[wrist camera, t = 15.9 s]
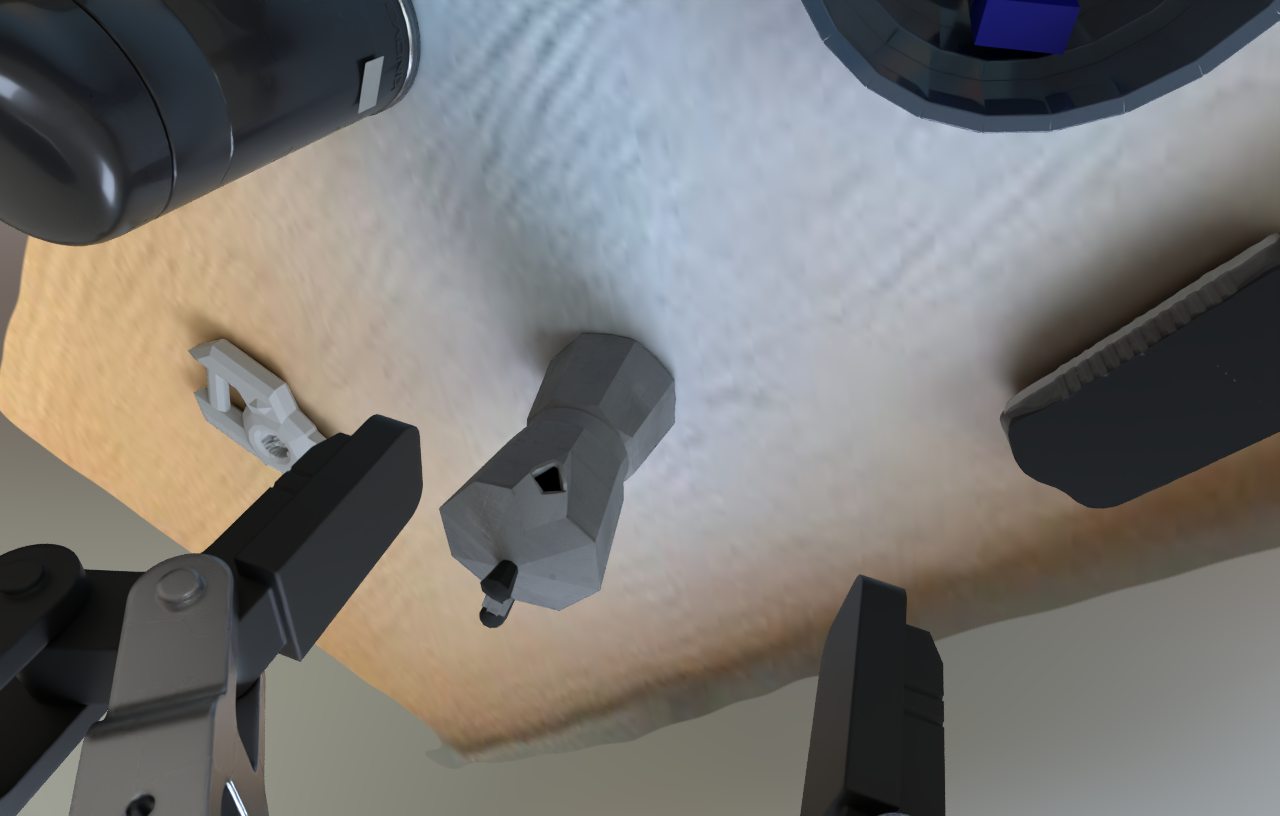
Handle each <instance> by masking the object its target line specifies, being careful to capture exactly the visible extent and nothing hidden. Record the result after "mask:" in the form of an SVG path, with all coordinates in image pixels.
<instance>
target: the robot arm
mask: <svg viewBox="0 0 1280 816" xmlns="http://www.w3.org/2000/svg"><path fill="white" fill-rule="evenodd" d="M419 60H420V34H419V28H418V22H417V18H416V14H415V11H414V8H413V5H412V2H411V0H0V220H1V221H2V222H4V223H6V224H8V225H9V226H11V227H14V228H15V229H17V230H19V231H21V232H23V233H25V234H27V235H30V236H32V237H35V238H38V239H41V240H44V241H47V242H50V243H55V244H59V245H67V246H88V245H94V244H100V243H104V242H106V241H109V240H112V239H114V238H117V237H120V236H122V235H124V234H126V233H128V232H130V231H132V230H134V229H136V228H138V227H140V226H142V225H145V224H147V223H148V222H150V221H152V220H154V219H157V218H159V217H161V216H163V215H165V214H167V213H169V212H171V211H173V210H175V209H177V208H179V207H181V206H183V205H186V204H188V203H190V202H192V201H194V200H196V199H198V198H200V197H202V196H204V195H206V194H208V193H210V192H212V191H214V190H216V189H218V188H220V187H222V186H224V185H226V184H228V183H230V182H232V181H234V180H236V179H238V178H241V177H243V176H245V175H247V174H249V173H251V172H253V171H255V170H257V169H259V168H261V167H263V166H265V165H267V164H270V163H272V162H274V161H276V160H278V159H280V158H282V157H284V156H286V155H288V154H290V153H292V152H294V151H296V150H299V149H301V148H303V147H305V146H307V145H309V144H311V143H313V142H315V141H317V140H319V139H321V138H323V137H325V136H327V135H330V134H332V133H334V132H336V131H338V130H340V129H342V128H344V127H347V126H349V125H351V124H353V123H355V122H357V121H359V120H361V119H363V118H365V117H367V116H371V115H375V114H378V113H380V112H382V111H384V110H386V109H388V108H391V107H392V106H394V105H395V104H397V103H398V102H399V101H401V100H402V99H403V97H404V96H405V95H406V94H407V93H408V91H409V90H410V88H411V86H412V84H413V82H414V80H415V77H416V74H417V71H418V66H419ZM422 489H423V480H422V464H421V449H420V435H419V430H418V429H417V427H415V426H413V425H410V424H407V423H403V422H400V421H397V420H394V419H391V418H388V417H385V416H382V415H379V414H376V415H373V416H371V417H370V418H369V419H368V420H366V422H365V423H364V424H363V425H362V426H361V427H360V428H359V429H358V430H357V431H356V432H355V433H354V434H353V435H352V436H349V435H346V434H343V433H338V434H336V435H334V436H332V437H330V438H328V439H326V440H324V441H322V442H320V443H318V444H316V445H314V446H312V447H311V448H310V449H309V450H308V451H307V452H306V453H305V454H304V455H303V456H302V457H301V458H300V459H299V460H297V461H296V462H295V463H294V464H293V465H292V466H291V470H290V471H286V472H285V473H284V474H283V475H282V476H281V477H280V478H279V479H278V480H277V481H276V482H275V484H274V487H273V488H271V487H270V488H269V489H268V490H267V491H266V492H265V493H264V494H263V495H262V496H261V497H260V498H259V499H258V500H257V501H256V502H254V503H253V504H252V505H251V506H250V507H249V508H248V509H247V510H246V511H245V512H244V513H243V514H242V515H241V516H240V517H239V518H238V519H237V520H236V521H235V522H234V523H233V524H232V525H231V526H230V527H229V528H228V529H227V530H226V531H225V532H224V533H223V534H222V535H221V536H220V537H219V538H218V539H217V540H216V541H215V542H214V543H213V544H211V545H210V546H209V547H208V548H207V549H206V550H205V551H203V552H202V553H200V554H199V553H193V554H184V555H180V556H176V557H173V558H170V559H167V560H165V561H162V562H160V563H158V564H157V565H155V566H153V567H152V568H150V569H149V570H148V571H146V572H128V571H108V570H107V571H106V570H87V569H84V568H83V567H82V564H81V562H80V561H79V559H78V557H77V556H76V555H75V553H74V552H73V551H71V550H70V549H68V548H66V547H64V546H60V545H55V544H36V545H30V546H25V547H21V548H18V549H15V550H12V551H9V552H7V553H5V554H3V555H1V556H0V816H16V815H17V814H18V813H19V812H20V810H21V809H22V808H23V807H24V806H25V805H26V803H27V802H28V801H29V800H30V799H31V798H32V797H33V795H34V794H35V793H36V792H37V791H38V790H39V789H40V787H41V786H42V785H43V784H44V783H45V782H46V780H47V779H48V778H49V777H50V776H51V775H52V773H53V772H54V771H55V770H56V769H57V768H58V767H59V765H60V764H61V763H62V762H63V761H64V760H65V758H67V756H68V755H69V754H70V753H71V751H72V750H73V749H74V748H75V747H76V746H77V744H79V743H80V741H81V740H82V739H83V738H84V737H85V738H84V741H83V746H82V750H81V755H80V760H79V765H78V770H77V776H76V781H75V786H74V791H73V796H72V802H71V807H70V812H69V816H269V814H268V806H267V800H266V794H265V785H264V751H265V671H264V670H265V669H266V668H267V666H268V665H269V664H270V662H271V661H272V660H273V659H274V658H275V656H276V655H277V654H278V653H279V654H282V655H284V656H287V657H289V658H292V659H294V660H297V661H301V660H302V659H303V658H304V656H305V655H306V654H307V653H308V651H309V650H310V649H311V647H312V646H313V645H314V644H315V642H316V641H317V640H318V638H319V637H320V636H321V634H322V633H323V632H324V631H325V629H326V628H327V627H328V625H329V624H330V623H331V621H332V620H333V619H334V617H335V616H336V615H337V614H338V612H339V611H340V610H341V608H342V607H343V606H344V604H345V603H346V602H347V601H348V599H349V598H350V597H351V595H352V594H353V593H354V591H355V590H356V589H357V588H358V586H359V585H360V584H361V582H362V581H363V580H364V578H365V577H366V576H367V575H368V573H369V572H370V571H371V569H372V568H373V567H374V565H375V564H376V563H377V562H378V560H379V559H380V558H381V556H382V555H383V554H384V552H385V551H386V550H387V549H388V547H389V546H390V545H391V543H392V542H393V541H394V539H395V538H396V537H397V536H398V534H399V533H400V532H401V530H402V529H403V528H404V526H405V525H406V524H407V523H408V521H409V520H410V519H411V517H412V516H413V514H414V512H415V511H416V509H417V506H418V504H419V501H420V498H421V495H422ZM906 606H907V595H906V591H905V589H903V588H900V587H897V586H894V585H891V584H888V583H885V582H882V581H879V580H876V579H873V578H870V577H867V576H864V575H861V574H860V575H858V577H857V578H856V580H855V581H854V583H853V585H852V587H851V589H850V591H849V593H848V595H847V597H846V599H845V601H844V602H843V604H842V606H841V608H840V610H839V612H838V614H837V616H836V618H835V620H834V622H833V624H832V626H831V628H830V630H829V633H828V636H827V639H826V642H825V645H824V649H823V654H822V658H821V665H820V672H819V680H818V688H817V694H816V702H815V710H814V717H813V725H812V732H811V739H810V747H809V754H808V761H807V769H806V776H805V784H804V792H803V799H802V806H801V814H800V816H945V763H944V761H945V759H944V727H943V722H944V702H943V701H942V698H943V695H944V691H943V662H942V660H941V658H940V655H939V653H938V651H937V648H936V646H935V644H934V641H933V639H932V637H931V634H930V632H928V631H925V630H922V629H919V628H916V627H913V626H910V625H907V624H906ZM107 710H108V711H107ZM106 711H107V714H106V717H105V719H104V720H102V721H99V719H100V718H101V717H102V716H103V715H104V714H105V713H106Z"/></svg>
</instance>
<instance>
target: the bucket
mask: <svg viewBox="0 0 1280 816" xmlns="http://www.w3.org/2000/svg"><path fill="white" fill-rule="evenodd" d="M801 1H802V3H803V5H804V7H805V9H806V11H807V13H808V14H809V16H810V18H811V20H812V22H813V24H814V26H815V28H816V30H817V32H818V34H819V36H820V37H821V39H822V41H824V44H825V45H826V46H827V47H828V48H829V49H830V50H831V51H832V52H833V53H834V54H835V56H836V57H837V58H838V59H839V60H840V61H841V62H842V63H843V64H844V65H845V66H846V67H847V68H848V69H849V70H850V71H851V72H852V73H853V74H854V76H855V77H856V78H857V79H858V80H859V81H860V82H861V83H862V84H863V85H864V86H865V87H866V86H867V88H868V89H870V90H871V91H873V92H875V93H877V94H878V95H880V96H882V97H884V98H885V99H887V100H889V101H890V102H892V103H894V104H896V105H897V106H899V107H901V108H903V109H904V110H906V111H908V112H910V113H911V114H913V115H915V116H917V117H920V118H921V119H925V120H929V121H934V122H938V123H942V124H946V125H950V126H954V127H958V128H962V129H966V130H970V131H974V132H978V133H980V132H982V133H1033V132H1050V131H1052V132H1053V131H1057V130H1061V129H1065V128H1069V127H1073V126H1077V125H1081V124H1085V123H1090V122H1094V121H1098V120H1102V119H1106V118H1110V117H1114V116H1118V115H1122V114H1124V113H1125V112H1126V113H1127V112H1130V111H1132V110H1134V109H1136V108H1138V107H1140V106H1142V105H1144V104H1147V103H1149V102H1151V101H1153V100H1155V99H1157V98H1159V97H1161V96H1163V95H1165V94H1167V93H1169V92H1172V91H1174V90H1176V89H1178V88H1180V87H1182V86H1184V85H1186V84H1188V83H1190V82H1192V81H1195V80H1197V79H1199V78H1201V77H1202V76H1203V75H1205V74H1207V73H1209V72H1210V71H1212V70H1213V69H1214V68H1216V67H1217V66H1218V65H1220V64H1221V63H1222V62H1224V61H1225V60H1227V59H1228V58H1229V57H1231V56H1232V55H1233V54H1235V53H1236V52H1237V51H1239V50H1240V49H1242V48H1243V47H1244V46H1246V45H1247V44H1248V43H1250V42H1251V41H1252V40H1254V39H1255V38H1257V37H1258V36H1259V35H1261V34H1262V33H1263V32H1265V31H1266V30H1267V29H1269V28H1270V27H1272V26H1273V25H1274V24H1276V23H1277V22H1278V21H1280V0H1078V4H1079V6H1080V10H1079V13H1078V15H1077V18H1076V21H1075V24H1074V26H1073V29H1072V32H1071V35H1070V37H1069V40H1068V43H1067V45H1066V48H1065V51H1064V54H1063V55H1059V54H1050V53H1041V52H1032V51H1024V50H1015V49H1006V48H997V47H988V46H979V45H974V40H973V33H972V27H971V21H970V12H971V9H972V5H973V2H974V0H801Z"/></svg>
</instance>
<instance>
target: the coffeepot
mask: <svg viewBox="0 0 1280 816" xmlns="http://www.w3.org/2000/svg"><path fill="white" fill-rule="evenodd" d="M675 401H676V397H675V389H674V378H673V377H672V376H671V375H670V373H669V372H668V371H667V370H666V368H665V367H664V366H663V365H662V363H661V362H660V361H659V360H658V359H657V358H656V357H655V356H654V355H653V354H652V353H651V352H649V351H648V350H647V349H646V348H644V347H642V346H641V345H640V344H639V343H638V342H637V341H635V340H631V339H628V338H624V337H620V336H615V335H611V334H594V335H593V334H586V333H583V334H582V335H580V336H579V337H578V338H577V339H576V340H574V341H573V342H572V343H570V344H569V345H568V346H567V347H566V348H565V349H564V350H563V351H562V352H560V353H559V354H558V355H557V356H556V357H555V358H553V359H552V360H551V362H550V364H549V367H548V369H547V372H546V374H545V377H544V379H543V381H542V384H541V386H540V389H539V391H538V394H537V396H536V399H535V401H534V403H533V406H532V408H531V411H530V413H529V416H528V418H527V427H526V428H524V429H523V430H522V431H520V432H519V433H518V434H517V435H516V436H514V437H513V438H512V439H511V440H510V441H509V442H508V443H507V444H506V445H504V446H503V447H502V448H501V449H500V450H499V451H498V452H497V453H496V454H495V455H494V456H493V457H492V458H491V459H490V460H489V461H488V462H487V463H486V464H485V465H484V466H483V467H482V468H481V469H480V470H479V471H478V472H476V473H475V474H474V475H473V476H472V477H471V478H470V479H469V480H468V481H467V482H466V483H465V484H464V485H463V486H462V487H461V488H460V489H459V490H458V491H457V492H456V493H455V494H454V495H453V496H452V497H451V498H449V499H448V500H447V501H446V502H445V503H444V504H443V505H442V506H441V507H440V508H439V510H440V514H441V517H442V521H443V525H444V529H445V532H446V536H447V540H448V543H449V547H450V551H451V555H452V556H453V557H454V558H455V559H456V560H458V561H459V562H460V563H461V564H462V565H464V566H465V567H466V568H467V569H468V570H470V571H471V572H472V573H473V574H474V575H475V576H477V577H478V578H479V579H480V580H481V582H480V584H481V588H482V591H483V592H484V593H485V594H486V596H485V599H484V601H483V604H482V606H483V608H482V609H481V611H480V613H479V614H480V620H481V622H482V623H483V625H485V626H487V627H489V628H497V627H498V626H500V625H502V624H503V622H504V621H505V620H506V618H507V616H508V614H509V612H510V610H511V607H512V605H513V603H514V601H515V600H518V601H522V602H526V603H530V604H534V605H538V606H542V607H546V608H550V609H554V610H558V611H560V610H562V609H564V608H566V607H568V606H570V605H572V604H574V603H576V602H578V601H580V600H582V599H584V598H586V597H588V596H590V595H592V594H594V593H596V592H598V591H600V589H601V584H602V580H603V577H604V573H605V569H606V565H607V561H608V557H609V554H610V550H611V546H612V542H613V538H614V534H615V531H616V527H617V523H618V519H619V515H620V511H621V508H622V504H623V498H624V487H623V482H624V481H625V480H627V479H628V478H629V477H630V476H632V475H633V474H634V473H635V472H636V470H637V469H638V468H639V467H640V465H641V464H642V463H643V462H644V461H645V459H646V458H647V457H648V456H649V454H650V453H651V452H652V451H653V449H654V448H655V447H656V446H657V444H658V443H659V442H660V441H661V439H662V438H663V437H664V436H665V434H666V433H667V432H668V431H669V430H670V428H671V427H672V426H673V425H674V423H675Z"/></svg>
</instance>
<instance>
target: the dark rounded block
mask: <svg viewBox="0 0 1280 816" xmlns="http://www.w3.org/2000/svg"><path fill="white" fill-rule="evenodd" d="M1000 421H1001V425H1002V428H1003V430H1004V432H1005V435H1006V437H1007V439H1008V441H1009V443H1010V446H1011V449H1012V452H1013V456H1014V458H1015V460H1016V462H1017V464H1018V465H1019V467H1020V468H1021V470H1022V471H1023V472H1024V473H1025V474H1027V475H1028V476H1030V477H1032V478H1033V479H1035V480H1036V481H1038V482H1041V483H1044V484H1047V485H1050V486H1052V487H1055V488H1057V489H1059V490H1061V491H1063V492H1065V493H1066V494H1068V495H1069V496H1070V497H1071V498H1073V499H1074V500H1075V501H1077V502H1078V503H1080V504H1082V505H1084V506H1086V507H1090V508H1109V507H1114V506H1118V505H1120V504H1123V503H1125V502H1128V501H1130V500H1132V499H1134V498H1137V497H1139V496H1141V495H1143V494H1145V493H1148V492H1150V491H1152V490H1154V489H1157V488H1159V487H1161V486H1164V485H1166V484H1168V483H1170V482H1172V481H1174V480H1176V479H1178V478H1180V477H1183V476H1185V475H1187V474H1189V473H1192V472H1194V471H1196V470H1198V469H1201V468H1203V467H1205V466H1207V465H1209V464H1211V463H1213V462H1215V461H1217V460H1219V459H1222V458H1224V457H1226V456H1228V455H1230V454H1233V453H1235V452H1237V451H1239V450H1241V449H1243V448H1246V447H1248V446H1250V445H1252V444H1254V443H1256V442H1258V441H1261V440H1263V439H1265V438H1267V437H1269V436H1271V435H1273V434H1276V433H1278V432H1280V232H1277V233H1274V234H1271V235H1269V236H1268V237H1266V238H1265V239H1264V240H1262V241H1261V242H1259V243H1257V244H1255V245H1253V246H1251V247H1249V248H1248V249H1246V250H1245V251H1243V252H1242V253H1240V254H1239V255H1238V256H1236V257H1235V258H1233V259H1231V260H1230V261H1228V262H1226V263H1224V264H1222V265H1220V266H1219V267H1217V268H1216V269H1214V270H1212V271H1210V272H1207V273H1206V274H1204V275H1203V276H1202V277H1201V278H1200V279H1199V280H1197V281H1195V282H1194V283H1191V284H1190V285H1188V286H1187V287H1186V288H1183V289H1182V290H1180V291H1178V292H1177V293H1176V294H1175V295H1174V296H1172V297H1170V298H1168V299H1167V300H1165V301H1164V302H1162V303H1161V304H1160V305H1158V306H1157V307H1155V308H1154V309H1151V310H1149V311H1148V312H1147V313H1146V314H1144V315H1142V316H1140V317H1137V318H1135V320H1134V321H1133V322H1131V323H1130V324H1128V325H1126V326H1124V327H1122V328H1121V329H1120V330H1119V331H1117V332H1115V333H1113V334H1111V335H1109V336H1107V337H1106V338H1105V339H1103V340H1102V341H1100V342H1097V343H1096V344H1095V345H1094V346H1093V347H1091V348H1090V349H1088V350H1084V352H1083V353H1082V354H1080V355H1079V356H1077V357H1074V358H1072V359H1071V360H1070V361H1069V362H1067V363H1066V364H1063V365H1060V367H1059V368H1058V369H1057V370H1056V371H1055V372H1053V373H1051V374H1049V375H1047V376H1045V377H1043V378H1042V379H1040V380H1038V381H1037V382H1035V383H1033V384H1031V385H1030V386H1028V387H1027V388H1025V389H1024V390H1022V391H1020V392H1019V393H1018V394H1016V395H1015V396H1014V397H1013V398H1012V399H1010V400H1009V401H1008V402H1007V404H1006V407H1005V410H1004V411H1003V412H1002V414H1001V416H1000Z"/></svg>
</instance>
